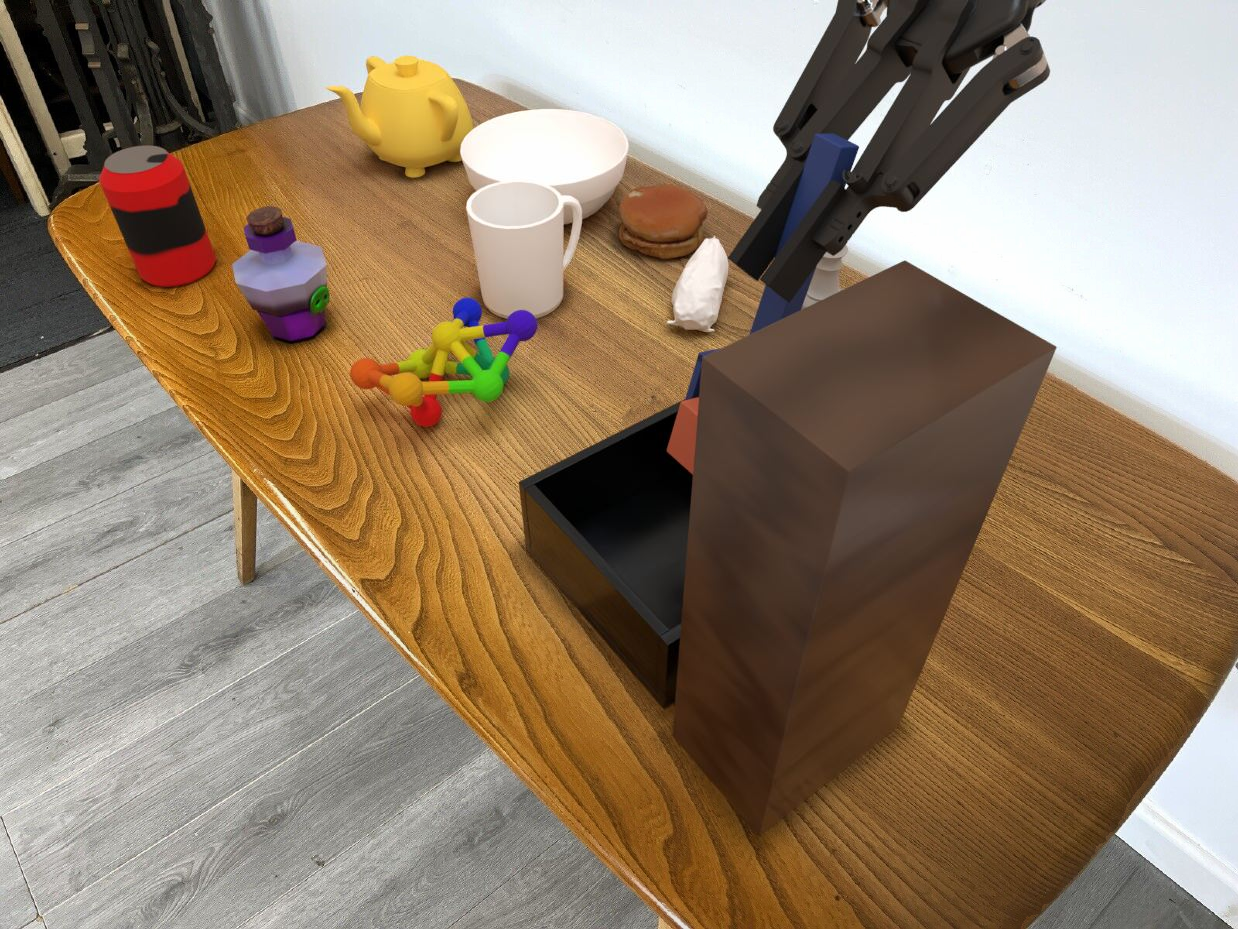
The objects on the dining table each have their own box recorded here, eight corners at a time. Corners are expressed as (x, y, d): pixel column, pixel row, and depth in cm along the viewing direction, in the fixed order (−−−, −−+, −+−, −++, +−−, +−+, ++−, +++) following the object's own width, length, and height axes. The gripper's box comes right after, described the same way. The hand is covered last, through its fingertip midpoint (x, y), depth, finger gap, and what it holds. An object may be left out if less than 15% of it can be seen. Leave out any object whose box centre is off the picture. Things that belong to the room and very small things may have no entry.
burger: (697, 266, 96) (700, 225, 92) (610, 256, 97) (609, 216, 94) (710, 218, 103) (713, 179, 99) (628, 210, 104) (629, 171, 101)
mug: (495, 333, 88) (483, 237, 80) (466, 284, 93) (453, 191, 86) (601, 305, 91) (599, 211, 84) (567, 260, 97) (563, 168, 89)
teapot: (370, 132, 118) (351, 36, 110) (482, 132, 118) (471, 36, 110) (346, 184, 108) (323, 83, 100) (468, 185, 108) (455, 83, 100)
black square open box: (845, 587, 66) (864, 519, 61) (664, 710, 59) (668, 645, 54) (697, 457, 76) (702, 389, 70) (525, 550, 69) (518, 481, 63)
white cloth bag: (672, 291, 95) (662, 328, 86) (690, 228, 91) (681, 260, 83) (718, 304, 95) (713, 342, 86) (738, 241, 91) (734, 274, 83)
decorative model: (328, 353, 79) (470, 258, 82) (381, 428, 84) (512, 335, 88) (379, 405, 69) (537, 295, 72) (435, 486, 74) (579, 380, 78)
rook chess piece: (787, 314, 90) (799, 242, 84) (808, 293, 92) (820, 221, 87) (829, 330, 88) (844, 257, 82) (849, 308, 90) (864, 236, 85)
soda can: (207, 286, 93) (166, 176, 85) (131, 290, 93) (82, 180, 84) (224, 246, 99) (186, 139, 90) (151, 250, 98) (107, 142, 90)
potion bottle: (332, 354, 85) (301, 239, 77) (239, 353, 85) (198, 239, 77) (352, 300, 91) (325, 189, 83) (265, 300, 92) (229, 188, 83)
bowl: (514, 266, 96) (508, 203, 91) (441, 193, 107) (432, 132, 102) (659, 218, 103) (661, 156, 98) (577, 153, 114) (575, 95, 109)
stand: (899, 726, 58) (1057, 346, 37) (758, 837, 53) (849, 471, 32) (809, 640, 63) (904, 259, 42) (672, 735, 58) (701, 357, 37)
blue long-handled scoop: (895, 163, 48) (862, 165, 47) (769, 489, 61) (740, 500, 59) (801, 116, 52) (768, 116, 51) (702, 432, 65) (672, 440, 63)
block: (766, 422, 59) (721, 435, 56) (748, 472, 61) (704, 486, 59) (725, 390, 61) (680, 401, 59) (709, 438, 63) (665, 451, 61)
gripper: (1170, -15, 47) (880, 365, 51) (936, -82, 55) (706, 249, 60) (1154, -120, 41) (827, 321, 46) (894, -177, 49) (642, 199, 54)
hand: (759, 279), depth 53 cm, fingers closed on blue long-handled scoop, 2 cm apart
